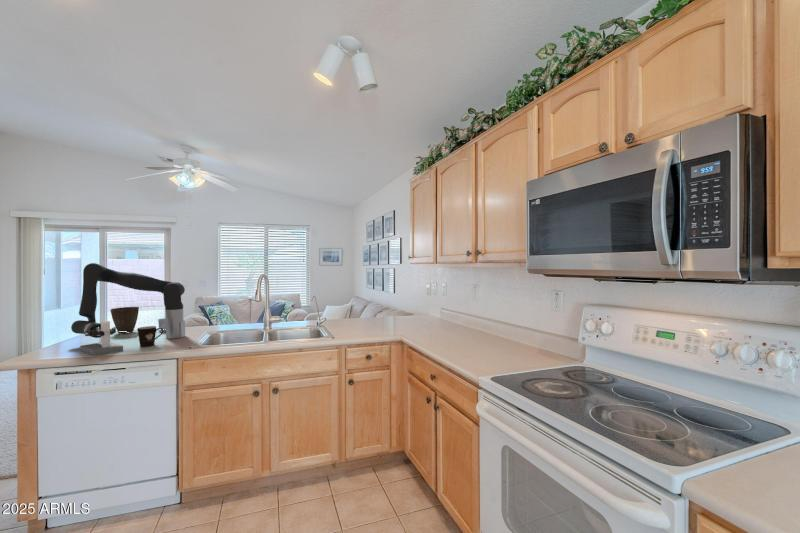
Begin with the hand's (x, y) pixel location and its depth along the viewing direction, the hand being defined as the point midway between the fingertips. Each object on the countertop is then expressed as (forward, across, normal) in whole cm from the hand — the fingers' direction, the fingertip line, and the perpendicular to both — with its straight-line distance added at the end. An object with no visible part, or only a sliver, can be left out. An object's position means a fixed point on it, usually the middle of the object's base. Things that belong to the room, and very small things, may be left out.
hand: (107, 333), depth 187 cm
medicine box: (-37, +44, +10) cm, 58 cm away
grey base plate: (-9, 0, +10) cm, 13 cm away
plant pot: (-54, +27, +10) cm, 61 cm away
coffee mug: (0, +19, +10) cm, 22 cm away
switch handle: (-3, 0, +7) cm, 8 cm away
